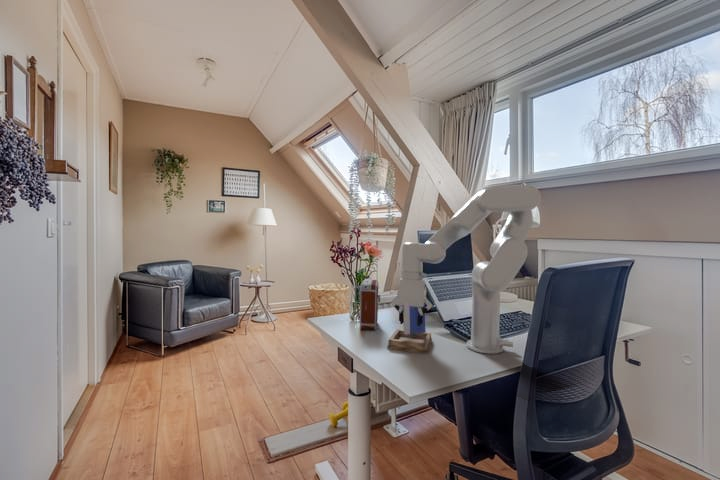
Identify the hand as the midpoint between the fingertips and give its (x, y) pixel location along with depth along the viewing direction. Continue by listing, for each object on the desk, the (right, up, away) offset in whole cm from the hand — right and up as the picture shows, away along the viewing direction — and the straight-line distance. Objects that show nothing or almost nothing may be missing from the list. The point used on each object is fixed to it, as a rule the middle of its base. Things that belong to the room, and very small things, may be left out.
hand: (410, 323), depth 124 cm
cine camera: (-15, -7, +25) cm, 30 cm away
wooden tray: (0, -8, 0) cm, 8 cm away
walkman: (+1, -4, 0) cm, 4 cm away
